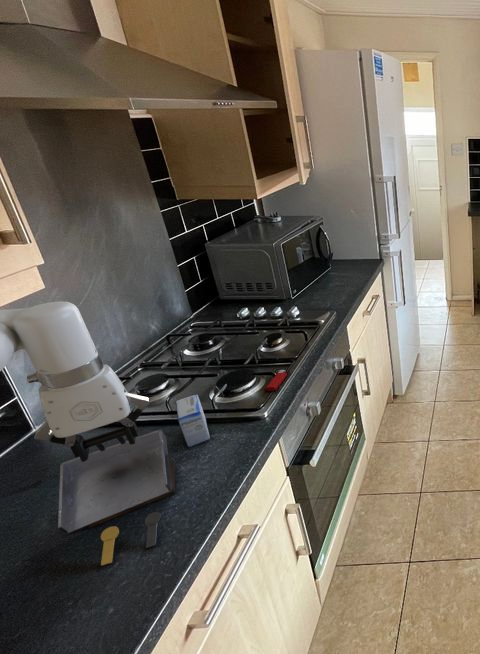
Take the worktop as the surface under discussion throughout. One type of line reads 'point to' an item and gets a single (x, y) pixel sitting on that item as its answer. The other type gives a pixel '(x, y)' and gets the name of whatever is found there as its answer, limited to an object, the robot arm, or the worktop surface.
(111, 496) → the steel dish
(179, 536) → the worktop surface
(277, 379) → the lighter
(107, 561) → the brass key
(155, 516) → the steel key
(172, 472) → the stand
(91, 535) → the worktop surface
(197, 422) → the medicine box
